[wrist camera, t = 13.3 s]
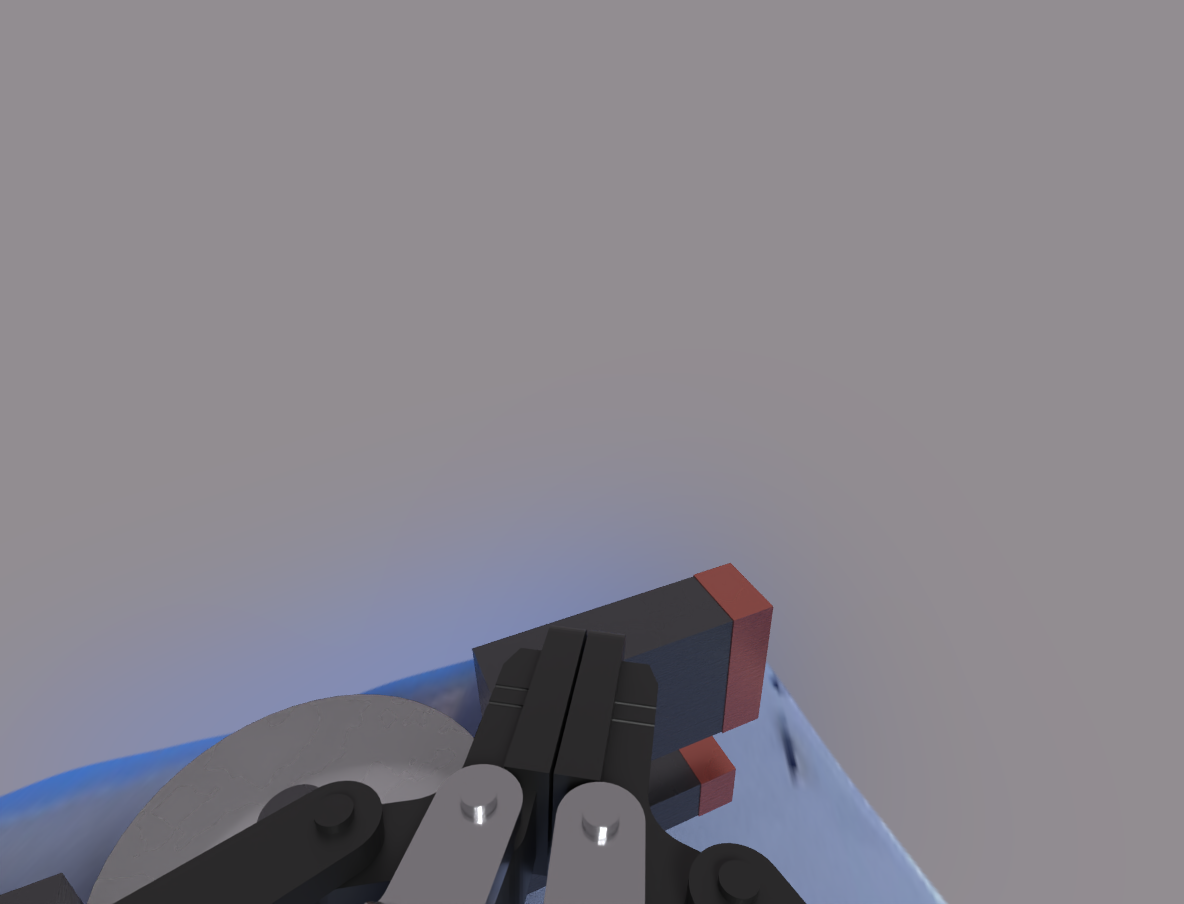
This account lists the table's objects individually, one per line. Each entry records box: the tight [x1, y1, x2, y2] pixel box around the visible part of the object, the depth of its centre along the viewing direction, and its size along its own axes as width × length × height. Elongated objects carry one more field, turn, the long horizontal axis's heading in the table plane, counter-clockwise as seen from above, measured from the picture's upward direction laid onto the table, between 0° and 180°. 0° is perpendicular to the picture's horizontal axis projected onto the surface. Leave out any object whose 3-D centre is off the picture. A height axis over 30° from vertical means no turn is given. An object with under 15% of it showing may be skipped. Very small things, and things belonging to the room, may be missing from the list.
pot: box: [527, 736, 736, 894], centre depth 33 cm, size 27×23×10 cm
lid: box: [0, 563, 773, 904], centre depth 28 cm, size 33×16×7 cm, turn 114°
